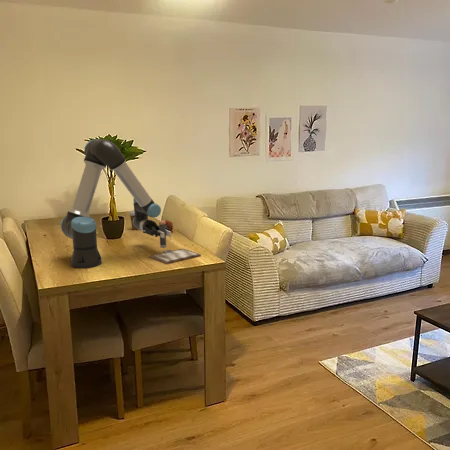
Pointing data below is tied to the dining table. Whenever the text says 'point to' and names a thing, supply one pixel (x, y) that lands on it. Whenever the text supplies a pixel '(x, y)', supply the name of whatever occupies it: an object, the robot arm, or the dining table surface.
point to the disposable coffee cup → (132, 219)
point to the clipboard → (174, 256)
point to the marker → (163, 229)
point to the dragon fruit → (169, 224)
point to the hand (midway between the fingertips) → (167, 234)
